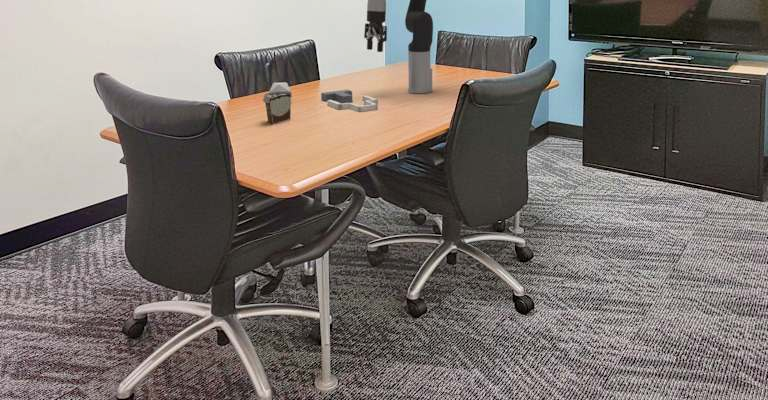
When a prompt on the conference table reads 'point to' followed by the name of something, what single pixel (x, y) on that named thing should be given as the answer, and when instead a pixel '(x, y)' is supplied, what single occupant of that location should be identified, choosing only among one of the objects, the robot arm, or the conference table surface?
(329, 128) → the conference table surface
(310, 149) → the conference table surface
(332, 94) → the t block
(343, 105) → the t dock
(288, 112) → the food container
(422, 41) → the robot arm
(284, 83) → the grey rounded block
